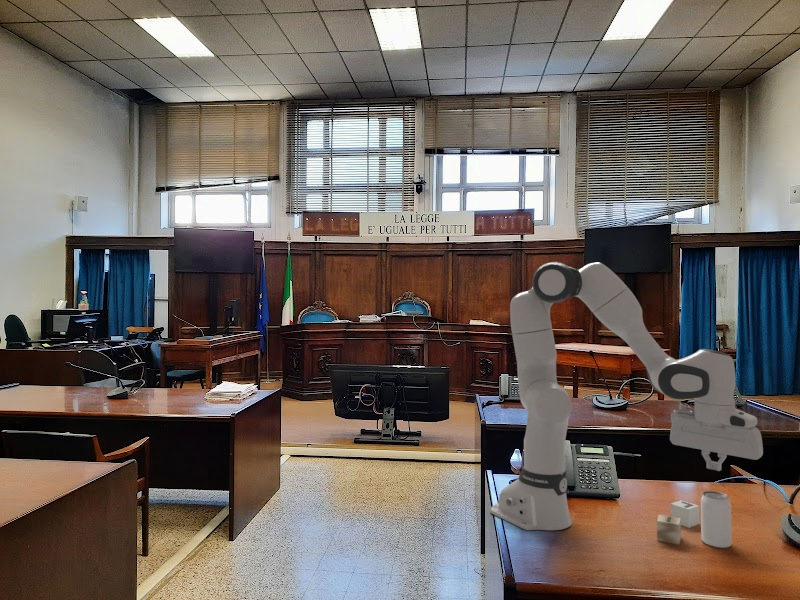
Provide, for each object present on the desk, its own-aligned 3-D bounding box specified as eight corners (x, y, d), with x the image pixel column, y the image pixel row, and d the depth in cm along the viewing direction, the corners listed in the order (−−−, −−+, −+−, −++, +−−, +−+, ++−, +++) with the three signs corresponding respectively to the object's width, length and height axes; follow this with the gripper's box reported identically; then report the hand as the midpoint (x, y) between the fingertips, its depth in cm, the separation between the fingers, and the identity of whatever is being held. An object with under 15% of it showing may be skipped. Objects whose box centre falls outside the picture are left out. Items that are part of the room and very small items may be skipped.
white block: (671, 521, 146) (670, 503, 146) (681, 518, 149) (680, 499, 149) (689, 528, 142) (688, 508, 142) (699, 524, 144) (698, 505, 145)
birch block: (657, 540, 134) (656, 520, 134) (659, 533, 138) (659, 513, 139) (679, 545, 132) (679, 524, 132) (681, 537, 136) (680, 517, 136)
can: (735, 550, 129) (735, 500, 129) (706, 547, 130) (706, 498, 130) (725, 538, 135) (724, 491, 135) (697, 536, 136) (697, 489, 137)
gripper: (666, 409, 139) (665, 462, 138) (758, 422, 124) (757, 482, 123) (675, 406, 143) (674, 458, 143) (765, 419, 128) (764, 476, 128)
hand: (713, 469), depth 133 cm, fingers closed
